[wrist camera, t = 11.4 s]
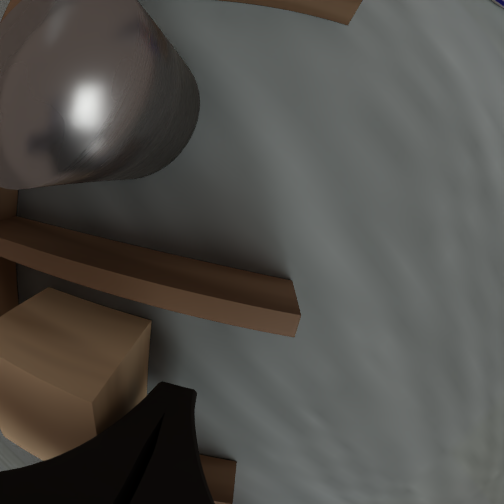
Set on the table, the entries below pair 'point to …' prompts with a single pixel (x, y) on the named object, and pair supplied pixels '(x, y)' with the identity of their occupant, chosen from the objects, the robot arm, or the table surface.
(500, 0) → the energy drink
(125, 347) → the maple block
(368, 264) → the table surface
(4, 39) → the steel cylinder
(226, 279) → the rack
